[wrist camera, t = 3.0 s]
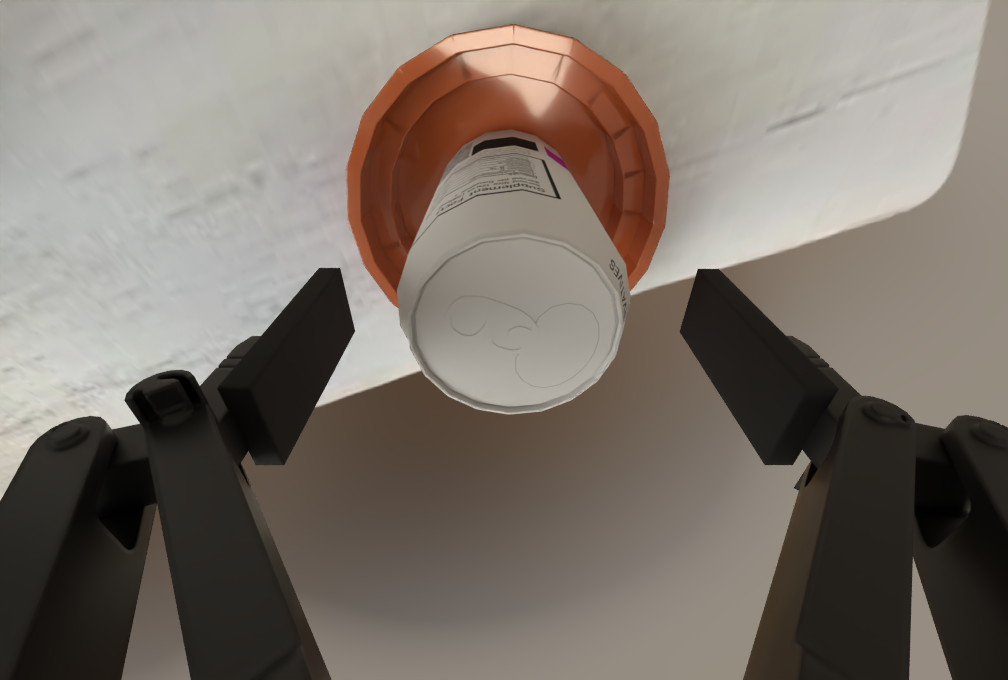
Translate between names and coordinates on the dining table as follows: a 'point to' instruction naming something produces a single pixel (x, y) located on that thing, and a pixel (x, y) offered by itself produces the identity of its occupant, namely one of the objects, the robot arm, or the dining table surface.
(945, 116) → the dining table surface
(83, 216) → the dining table surface
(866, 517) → the robot arm
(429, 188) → the bowl
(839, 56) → the dining table surface
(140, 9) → the dining table surface
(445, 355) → the supplement can
